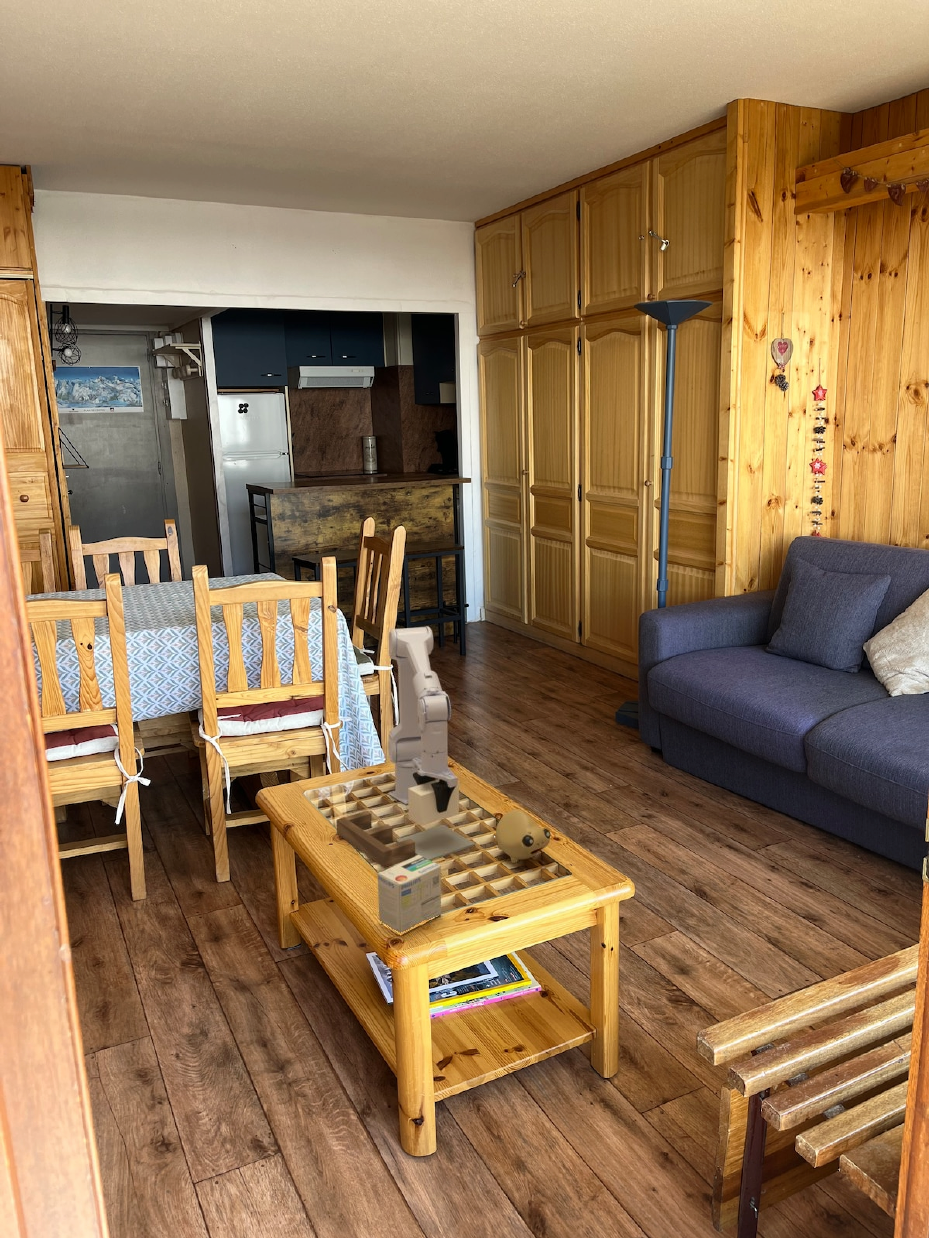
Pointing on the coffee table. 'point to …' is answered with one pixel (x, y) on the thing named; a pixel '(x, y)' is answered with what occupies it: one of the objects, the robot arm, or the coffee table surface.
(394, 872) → the light bulb box
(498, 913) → the coffee table surface
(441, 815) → the off-white block
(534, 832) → the tan toy animal
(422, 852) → the grey mat
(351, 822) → the walnut rack
